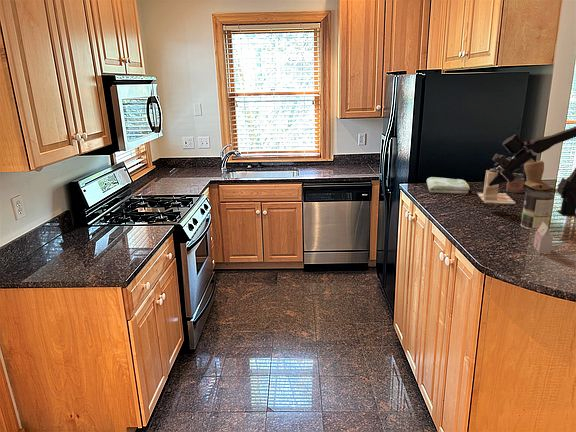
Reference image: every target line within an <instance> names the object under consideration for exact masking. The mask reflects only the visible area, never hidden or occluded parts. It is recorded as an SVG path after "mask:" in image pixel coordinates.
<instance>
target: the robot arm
mask: <svg viewBox="0 0 576 432" xmlns="http://www.w3.org/2000/svg"><path fill="white" fill-rule="evenodd" d="M575 138H576V126H573V127H570V128H568V129H567V128H566V129H564V130H562V131H559V132H556V133H554V134H552V135H548V136H541V137H534V138H532V139H531V140H529V141H527V140H526V141H522V139H521V138H520V137H519V135H517V134H516V133H515V134H513V135H512V136H509V137H507V138H506V139H505V140H504V141H503V142H502V144H501V145H502V146H503V147H504V148H505V149H506V150H507V151H508V152H509V153H510V154H514V155H513V156H512V157H511V156H509V157H507V156H505V155H504V154H498V153H495V154H494V155H493V157H492V159H491V160H492V161H493V162H494V164H493V166H494V167H493V169H497V170H498V174H497V176H496V177H495V178H494V179H493V180H492V181H491V182H490V183H489V186H493V185H497V184H499V185H501V184H504V183H507V182H508V180H509V181H510V182H512V181H514V180H515V177H514V176H513V174H514V173H516V171H518V170H521V169H522V167H523V166H524V164H525V163H526V162H528V161H535V162H536V160H537V156H538V155H537V154H542V153H543V152H546V151H547V150H549V149H551V148H552V147H553V146H555V145H558V144H559V143H560V144H561V143H563V142H565V141H569V140H571V139H575ZM525 148H526V149H525ZM531 151H532V152H533V153H532V152H531ZM534 153H535V154H534ZM556 190H557V193H558V194H559V196H560V198H561V199H562V201H561V207H560V209H559V210H557V213H559V214H561V216H569V217H576V167H574V169H573V171H572V173H571V174H570V175H569V176H568V177H567V178H564V177H562V178H561V180H560V182H559V183H558V184H557V188H556Z"/></svg>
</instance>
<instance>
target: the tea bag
mask: <svg viewBox="0 0 576 432" xmlns="http://www.w3.org/2000/svg"><path fill="white" fill-rule="evenodd" d="M550 230H551V229H550V227H549V225H548V226H547V225H546V224H545V223H544V222H542V223H541V225H540V227H539V228H538V229H537V231H536V230H535V233H534V240H533V243H532V244H533V246H532V248H533V247H534V248H535V249H536V250H537V251H538V253H548V254H550V255H551V252H552V246H553V240H554V239H553V236H552V233H551V231H550ZM534 248H533V249H534ZM535 249H534V250H535ZM536 250H535V251H536ZM537 251H536V252H537ZM538 253H537V254H538Z"/></svg>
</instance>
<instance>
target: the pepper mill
mask: <svg viewBox="0 0 576 432" xmlns="http://www.w3.org/2000/svg"><path fill="white" fill-rule="evenodd" d="M497 174H498V170H497V169H494V168H489V170H488V169H486V170H485V176H484V183H483V184H484V185H483V186H484V187H483V192H482V193H483V198H484V199H485V200H494V201H497V196H498V193H499V187H500V184H497V185H493V186H489V183H490V182H491V181H492V180H493V179H494V178H495V177H496V176H497Z"/></svg>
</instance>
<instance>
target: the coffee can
mask: <svg viewBox="0 0 576 432" xmlns="http://www.w3.org/2000/svg"><path fill="white" fill-rule="evenodd" d="M554 198H555V195H554V194H553V193H551V192H549V191H548V192H547V191H544V190H529V191H528V190H527V191H525V193H524V201H523V208H522V214H521V221H520V227H522V228H523V227H524V229H527V230H529V229H530V231H536V230H537V229H538V228H539V227H540V225H541V223H542V222H544V223H545V224H546V225H547V226H548V227H549V224H550V218H551V214H552V207H553V203H554Z"/></svg>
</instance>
